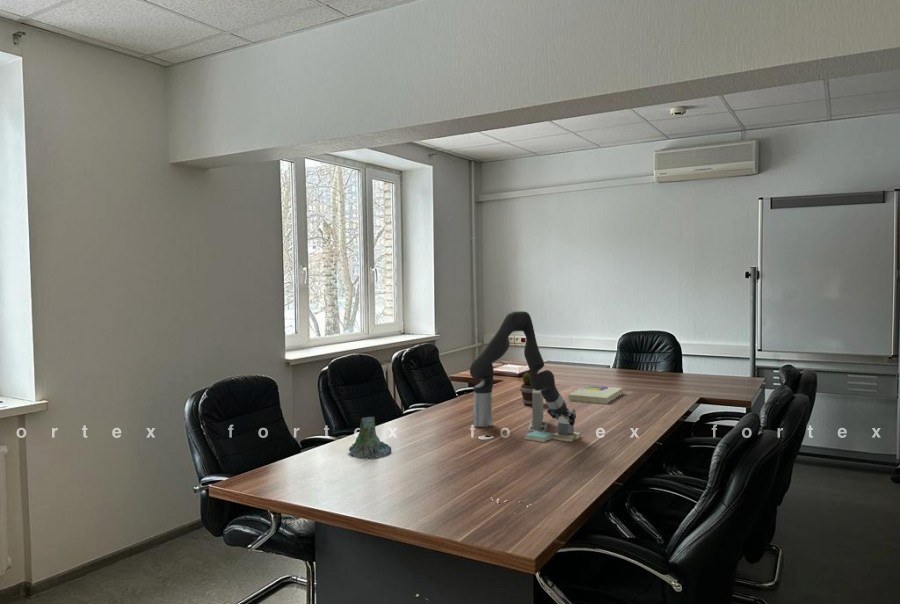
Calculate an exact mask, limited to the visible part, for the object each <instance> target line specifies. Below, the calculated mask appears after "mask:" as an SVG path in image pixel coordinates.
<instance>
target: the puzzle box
mask: <svg viewBox="0 0 900 604" xmlns="http://www.w3.org/2000/svg"><path fill="white" fill-rule="evenodd" d="M622 393H623V394H624V388H623V387H615V386H614V387H613V386H598V385H586V386H585V385H584V386H583V387H581V388H579V389H577V390H575V391H572V392H570V393H569V394H568V401H569V400H571V401H570V402H576V401H581V402H580V403H587V402H591V403H590V404H599V403H605V404H604V405H608V404H609V403H608V402H610V401H611V400H613V399H614V398H616V397H617V398H619V397H620V396H621V395H620V394H622ZM623 394H622V395H623ZM619 395H620V396H619ZM618 396H619V397H618ZM617 398H616V399H617ZM614 400H615V399H614ZM614 400H613V401H614ZM611 402H612V401H611ZM611 402H610V403H611ZM607 403H608V404H607Z"/></svg>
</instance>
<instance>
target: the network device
mask: <svg viewBox="0 0 900 604" xmlns="http://www.w3.org/2000/svg"><path fill="white" fill-rule="evenodd" d="M531 407H532V411H531V412H532V421H530V422H529V425H528V429H527V431H529V432H532V431H542V432H543V431H544V432H547V427H548V422H546V421H544V397H543V396H542V394H541V390H539V391H536V390H535V389H533V392H532V406H531Z"/></svg>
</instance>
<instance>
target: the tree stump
mask: <svg viewBox="0 0 900 604" xmlns="http://www.w3.org/2000/svg"><path fill="white" fill-rule="evenodd" d="M348 451H349V452H350V454H351V455H352V457H354V458H357V459H362V458H375V459H380V457H382V458H385V457H384V456H386V457H387V455H388V456H389V455H391V453H392V446H390V445H388V444H387V443H385V442H384V441H381V440H380V437H379V436H378V435H377V431H376V419H375V416H367V417H366V416H365V417H361V418H360V426H359V432H358V434H357V437H356V439H355V442H354V443H353V444H351V445H350V446H349V448H348Z"/></svg>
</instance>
